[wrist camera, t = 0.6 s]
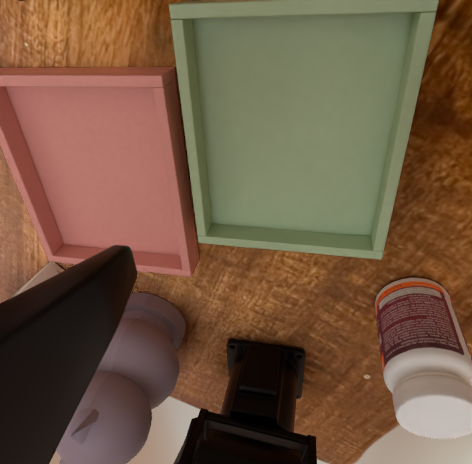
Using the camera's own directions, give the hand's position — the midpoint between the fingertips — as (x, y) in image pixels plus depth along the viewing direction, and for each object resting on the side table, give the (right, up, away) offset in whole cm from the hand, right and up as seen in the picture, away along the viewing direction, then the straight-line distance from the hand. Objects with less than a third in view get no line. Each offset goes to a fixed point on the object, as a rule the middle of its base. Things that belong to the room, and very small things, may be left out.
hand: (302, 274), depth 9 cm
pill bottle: (+10, -4, +17) cm, 20 cm away
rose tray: (-10, +5, +16) cm, 19 cm away
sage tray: (+2, +6, +12) cm, 14 cm away
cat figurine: (-9, -7, +24) cm, 26 cm away
